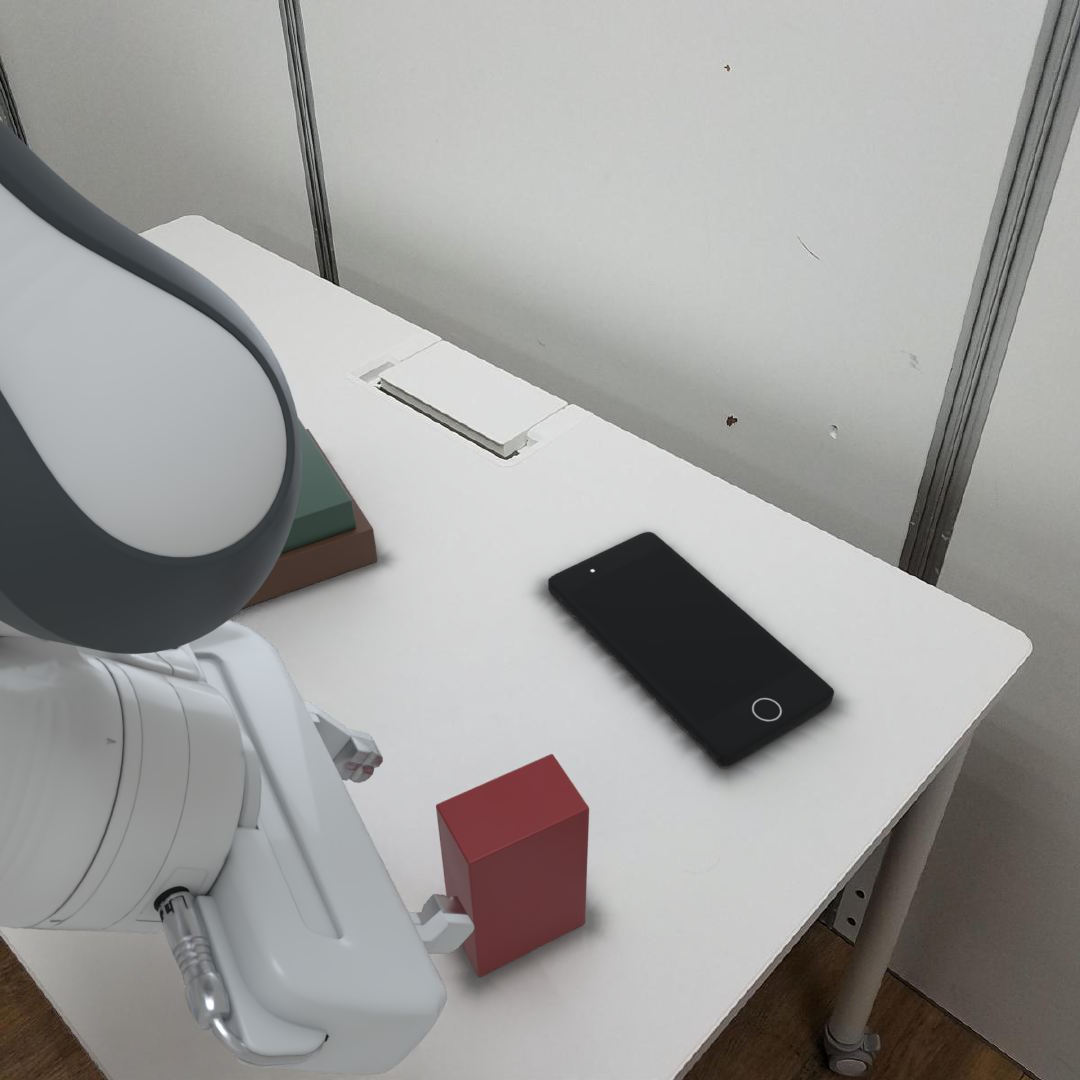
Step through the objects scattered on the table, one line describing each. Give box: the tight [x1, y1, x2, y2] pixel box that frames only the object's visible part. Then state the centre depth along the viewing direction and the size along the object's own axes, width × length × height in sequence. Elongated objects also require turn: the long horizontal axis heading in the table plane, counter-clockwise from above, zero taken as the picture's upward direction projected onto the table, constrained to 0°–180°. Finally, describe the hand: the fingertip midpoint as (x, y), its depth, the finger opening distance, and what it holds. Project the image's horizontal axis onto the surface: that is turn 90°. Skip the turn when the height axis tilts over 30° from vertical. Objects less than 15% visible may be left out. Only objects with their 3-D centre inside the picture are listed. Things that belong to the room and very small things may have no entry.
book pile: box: [241, 417, 379, 610], centre depth 76 cm, size 18×13×6 cm
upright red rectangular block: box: [435, 753, 590, 978], centre depth 53 cm, size 6×4×10 cm, turn 118°
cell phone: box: [547, 531, 835, 767], centre depth 70 cm, size 9×18×1 cm, turn 34°
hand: (411, 837), depth 48 cm, fingers open, 8 cm apart
